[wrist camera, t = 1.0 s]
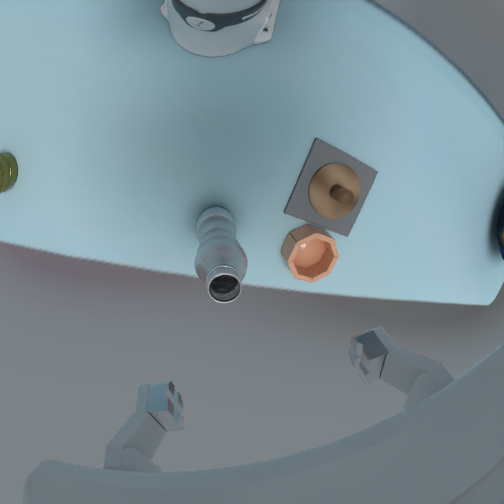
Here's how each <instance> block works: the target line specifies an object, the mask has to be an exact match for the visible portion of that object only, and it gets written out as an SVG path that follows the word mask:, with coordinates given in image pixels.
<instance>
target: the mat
mask: <svg viewBox="0 0 504 504" xmlns="http://www.w3.org/2000/svg"><path fill="white" fill-rule="evenodd" d="M330 163H340V164H344V165H346V166H348V167H350V168H351V169H352V170H353V171H354V172H355V173H356V174H357V176H358V178H359V181H360V188H361V190H360V197H359V200H358V202H357V204H356V206H355V207H354V209H353V210H352V211H351V212H350V213H348V214H347V215H345V216H343V217H341V218H336V219H330V218H326V217H324V216H322V215H320V214H319V213H318V212H317V211H315V209H314V208H313V207H312V205H311V203H310V200H309V194H308V190H309V184H310V181H311V179H312V177H313V175H314V174H315V173H316V172H317V170H319V169H320V168H321V167H323V166H324V165H327V164H330ZM377 173H378V172H377V171H376V170H374V169H372V168H371V167H369V166H367V165H366V164H364V163H362V162H361V161H359V160H357V159H355V158H354V157H352V156H350V155H348V154H346V153H345V152H343V151H341V150H339V149H337V148H335V147H333V146H331V145H329V144H328V143H326V142H324V141H322V140H320V139H318V138H315V140H314V143H313V145H312V147H311V150H310V152H309V154H308V157H307V159H306V161H305V164H304V166H303V168H302V171H301V173H300V175H299V178H298V180H297V182H296V185H295V187H294V189H293V192H292V194H291V196H290V199H289V201H288V203H287V205H286V208H285V210H284V213H286V214H289V215H291V216H294V217H297V218H300V219H302V220H305V221H308V222H310V223H313V224H315V225H318V226H321V227H323V228H326V229H329V230H331V231H334V232H336V233H339V234H341V235H344V236H346V237H348V235H349V233H350V231H351V229H352V227H353V225H354V223H355V221H356V219H357V217H358V215H359V213H360V210H361V208H362V206H363V204H364V202H365V200H366V197H367V195H368V193H369V191H370V189H371V186H372V184H373V182H374V180H375V177H376V175H377Z"/></svg>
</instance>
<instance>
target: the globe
mask: <svg viewBox="0 0 504 504" xmlns="http://www.w3.org/2000/svg"><path fill="white" fill-rule="evenodd" d="M498 243H499V248H500V252H501V255H502V258H503V260H504V206H503V208H502V211H501V214H500V217H499V222H498Z"/></svg>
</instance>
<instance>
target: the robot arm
mask: <svg viewBox="0 0 504 504" xmlns="http://www.w3.org/2000/svg"><path fill="white" fill-rule="evenodd" d="M279 3H280V0H165V2H164V3H163V4H162V6H161V13H162V15H163V16H164V17H165V18H166V19H167V20H168V22H169V25H170V30H171V33H172V36H173V38H174V39H175V41H176V42H177V43H178V44H179V45H180V46H181V47H183V48H184V49H186V50H187V51H189V52H192V53H194V54H197V55H202V56H209V57H218V56H225V55H229V54H233V53H235V52H238V51H240V50H242V49H244V48H246V47H247V46H250V45H253V44H262V43H266V42H269V41H270V39H271V37H272V33H273V29H274V24H275V20H276V16H277V11H278V7H279ZM263 29H267V32H265V31H263ZM350 343H351V345H352V347H351V348H350V350H349V356H350V360H351V363H352V365H353V366H354V368H357V369H359V371H358V375H359V377H360V378H361V380H362V382H363V384H366V383H369V382H371V381H374V380H376V379H379V378H380V379H381V380H383V381H384V382H386V383H388V384H389V385H391V386H393V387H395V388H396V389H398V390H400V391H402V392H404V393H405V394H407V395H409V396H408V398H407V400H406V402H405V404H404V408H405V409H406V410H404V411H402V412H400V413H398V414H396V415H394V416H392V417H390V418H388V419H386V420H384V421H382V422H380V423H377V424H375V425H373V426H371V427H368V428H366V429H364V430H361V431H359V432H356V433H354V434H351V435H349V436H346V437H344V438H341V439H338V440H336V441H333V442H330V443H327V444H324V445H321V446H318V447H315V448H311V449H308V450H305V451H301V452H298V453H294V454H290V455H286V456H282V457H278V458H274V459H269V460H265V461H260V462H255V463H250V464H244V465H238V466H232V467H224V468H215V469H207V470H194V471H177V472H176V471H175V472H161V468H160V467H159V466H158V465H156V464H155V463H154V462H152V461H151V459H152V458H153V456H154V454H155V452H156V451H157V449H158V447H159V445H160V444H161V442H162V440H163V438H164V436H165V435H166V433H167V432H166V431H174V430H183V429H184V425H183V424H184V422H183V416H182V415H181V414H180V413H181V412H182V411H183V401H182V397H181V395H180V393H179V392H178V391H176V390H175V389H174V388H175V386H174V384H173V383H172V382H162V383H151V384H142V385H140V386H139V388H138V396H137V404H136V411H135V414H132V415H131V416H130V418H129V419H128V420H127V421H126V422H125V424H124V425H123V426H122V427H121V428H120V430H119V431H118V432H117V433H116V435H115V436H114V437H113V438H112V440H111V441H110V442H109V443H108V444H107V446H106V452H105V460H104V469H101V468H95V467H87V466H80V465H76V464H70V463H65V462H61V461H56V460H52V459H44V460H43V461H41V462H40V463H39V464H38V465H37V466H36V467H35V468H34V469H33V470H32V471H31V472H30V473H29V474H28V476H27V478H26V481H25V484H24V488H23V494H22V499H21V504H504V345H500V346H498V347H497V348H495V349H494V350H493V351H492V352H491V353H489V354H488V355H487V356H486V357H485V358H483V359H482V360H481V361H480V362H478V363H477V364H476V365H474V366H473V367H472V368H471V369H469V370H468V371H466V372H465V373H464V374H462V375H461V376H459V377H458V378H457V379H454V378H453V377H452V375H451V374H450V373H449V372H448V370H447V369H446V368H445V367H444V365H443V364H442V363H441V362H439V361H436V360H434V359H431V358H428V357H426V356H423V355H421V354H418V353H415V352H412V351H410V350H408V349H405V348H402V347H401V348H398V346H397V345H396V344H395V343H394V341H393V340H392V339H391V337H390V336H389V335H388V334H387V332H386V331H385V330H384V329H383V327H381V326H379V327H377V328H374V329H372V330H368V331H366V332H363V333H361V334H358V335H355V336H353V337H351V340H350Z"/></svg>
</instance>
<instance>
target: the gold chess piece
mask: <svg viewBox="0 0 504 504" xmlns="http://www.w3.org/2000/svg"><path fill="white" fill-rule="evenodd" d="M16 178H17V164H16V161H15V159H14V157H13V156H12V155H11V154H9V153H4V154H0V193H2V192H5V191H6V190H8V189H10V188H11V187H12V186H13V185H14V183H15V181H16Z"/></svg>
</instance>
